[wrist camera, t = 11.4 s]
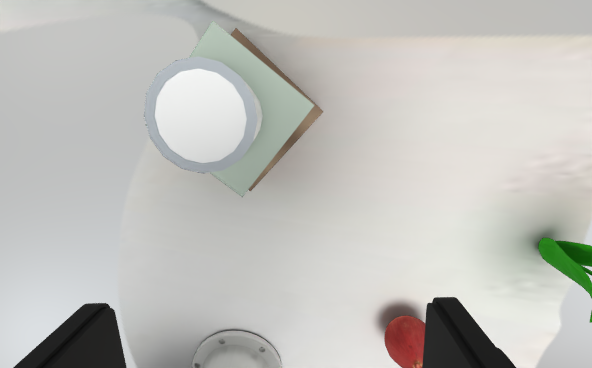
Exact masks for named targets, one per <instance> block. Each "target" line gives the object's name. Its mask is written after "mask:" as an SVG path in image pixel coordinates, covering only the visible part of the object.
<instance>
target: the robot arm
mask: <svg viewBox="0 0 592 368" xmlns="http://www.w3.org/2000/svg"><path fill="white" fill-rule="evenodd" d="M14 368H126V363H125V358H124V354H123V349H122V344H121V339H120V335H119V330H118V325H117V320H116V315H115V312H114V310H113V309H112V308H110V306H109V305H108V304H106V303H98V304H97V303H96V304H95V303H93V304H85V305H83V306H82V307H81V308H80V309H78V310H77V311H76V312H75V313H74V314H73V315H72V316H71V317H69V318H68V319H67V320H66V321H65V322H64V323H63V324H62V325H60V326H59V327H58V328H57V329H56V330H55V331H54V332H53V333H51V335H49V336H48V337H47V338H46V339H45V340H44V341H43V342H41V343H40V344H39V345H38V346H37V347H36V348H35V349H34V350H32V351H31V352H30V353H29V354H28V355H27V356H26V357H25V358H24V359H22V360H21V361H20V362H19V363H18V364H17V365H16V366H15V367H14ZM192 368H282V364H281V361H280V357H279V356H278V354H277V352H276V350H275V349H274V348H273V347H272V346H271V345H270V344H269V343H268V342H267V341H265V340H264V339H262V338H261V337H259V336H257V335H254V334H251V333H248V332H243V331H224V332H221V333H217V334H215V335H213V336H211V337H209V338H207V339H206V340H205V341H204V342H203V343H202V344H201V345H200V346H199V347H198V349H197V351H196V353H195V355H194V358H193V361H192ZM422 368H516V367H515V366H514V364H513V363H512V362H511V361H510V359H509V358H508V357H507V356H506V355H505V353H504V352H503V351H502V350H501V349H499V348H497V347H495V345H494V344H493V343H492V342H491V340H490V339H489V338H488V337H487V335H486V334H485V333H484V332H483V330H482V329H481V328H480V327H479V325H478V324H477V323H476V322H475V320H474V319H473V318H472V317H471V315H470V314H469V313H468V312H467V310H466V309H465V308H464V307H463V305H462V304H461V303H460V302H459V300H458V299H457V298H455V297H440V298H434V299H433V302H432V303H428V304H427V310H426V323H425V337H424V350H423V364H422Z"/></svg>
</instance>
